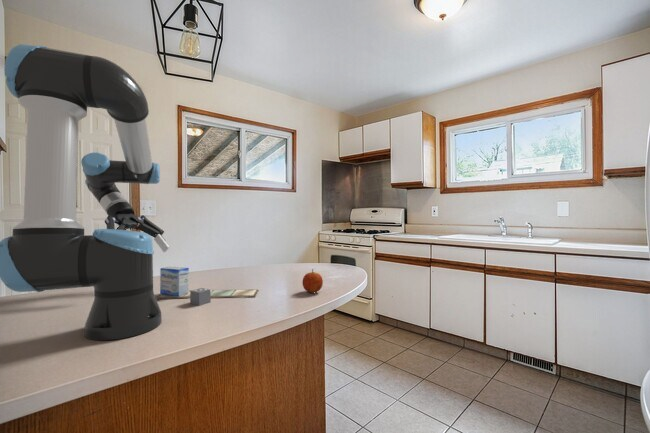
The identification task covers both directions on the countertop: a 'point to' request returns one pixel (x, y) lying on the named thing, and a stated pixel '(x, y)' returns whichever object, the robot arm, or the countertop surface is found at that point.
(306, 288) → the fruit
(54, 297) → the countertop surface
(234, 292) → the board
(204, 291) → the grey toy brick
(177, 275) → the medicine box
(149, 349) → the countertop surface
